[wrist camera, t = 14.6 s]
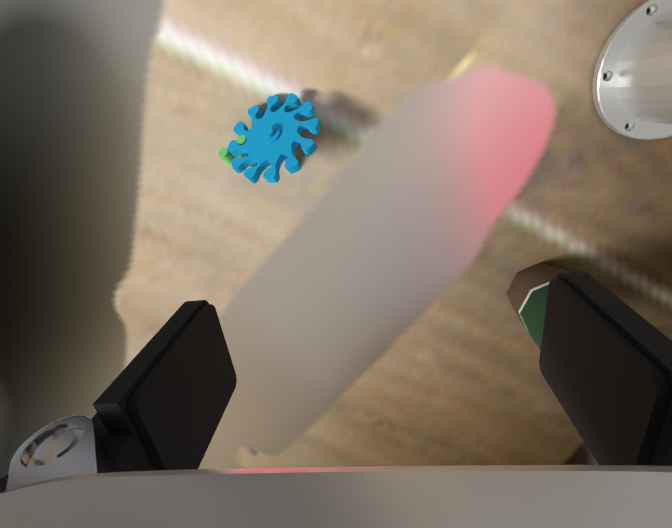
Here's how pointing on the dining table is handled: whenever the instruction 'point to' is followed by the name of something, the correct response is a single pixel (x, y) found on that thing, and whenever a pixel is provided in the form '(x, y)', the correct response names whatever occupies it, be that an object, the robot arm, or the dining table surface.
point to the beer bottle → (533, 297)
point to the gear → (272, 139)
